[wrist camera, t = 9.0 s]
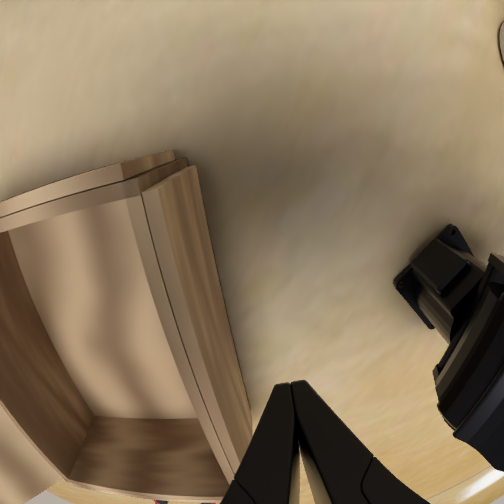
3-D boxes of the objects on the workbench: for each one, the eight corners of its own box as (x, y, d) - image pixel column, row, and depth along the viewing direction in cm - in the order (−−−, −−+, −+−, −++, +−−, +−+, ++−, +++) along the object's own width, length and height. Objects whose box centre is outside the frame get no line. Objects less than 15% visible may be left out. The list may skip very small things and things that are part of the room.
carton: (195, 145, 18) (151, 155, 10) (253, 417, 26) (255, 501, 18) (0, 202, 19) (-80, 239, 11) (97, 419, 27) (70, 484, 19)
